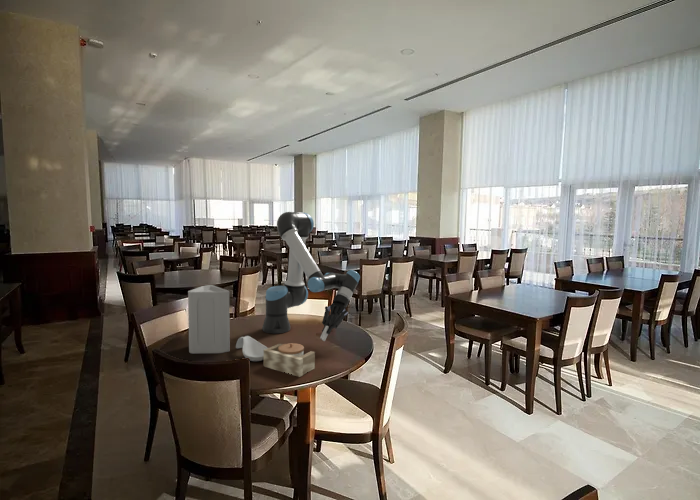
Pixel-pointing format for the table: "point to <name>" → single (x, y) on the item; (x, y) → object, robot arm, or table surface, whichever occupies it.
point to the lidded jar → (292, 349)
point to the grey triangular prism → (209, 320)
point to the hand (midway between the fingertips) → (322, 339)
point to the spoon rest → (251, 348)
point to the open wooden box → (288, 361)
